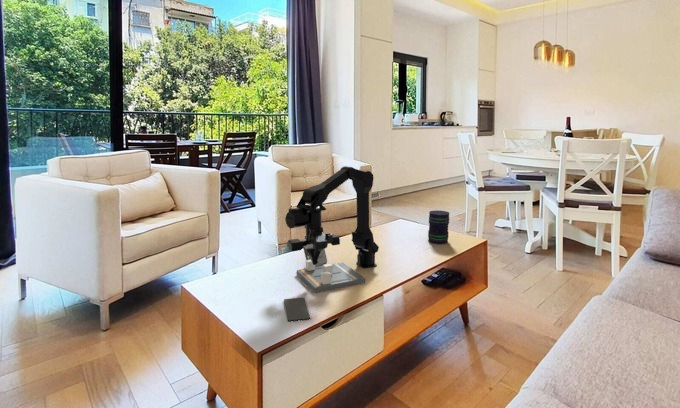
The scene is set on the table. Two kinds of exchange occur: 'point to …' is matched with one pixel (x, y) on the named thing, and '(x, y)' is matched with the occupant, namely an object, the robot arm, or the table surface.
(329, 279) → the handle
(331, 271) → the handle middle
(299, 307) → the smartphone
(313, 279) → the breaker panel
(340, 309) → the table surface
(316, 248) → the robot arm
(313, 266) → the handle
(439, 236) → the storage jar
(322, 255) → the electrical switch
